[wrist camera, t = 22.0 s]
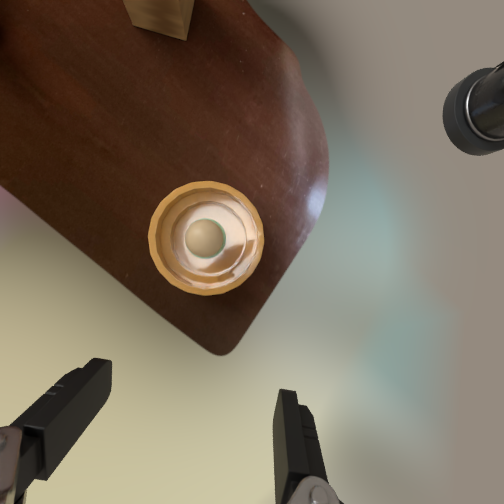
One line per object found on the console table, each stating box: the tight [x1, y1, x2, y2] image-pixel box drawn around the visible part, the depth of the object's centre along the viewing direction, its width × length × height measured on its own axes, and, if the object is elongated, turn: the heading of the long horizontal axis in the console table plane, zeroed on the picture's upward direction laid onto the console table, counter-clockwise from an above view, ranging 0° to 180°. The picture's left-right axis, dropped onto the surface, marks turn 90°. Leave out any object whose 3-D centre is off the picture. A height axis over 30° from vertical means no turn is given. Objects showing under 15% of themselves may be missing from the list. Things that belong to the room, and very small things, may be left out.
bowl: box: [148, 181, 264, 296], centre depth 32 cm, size 14×14×5 cm
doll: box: [185, 218, 226, 259], centre depth 29 cm, size 4×4×11 cm
